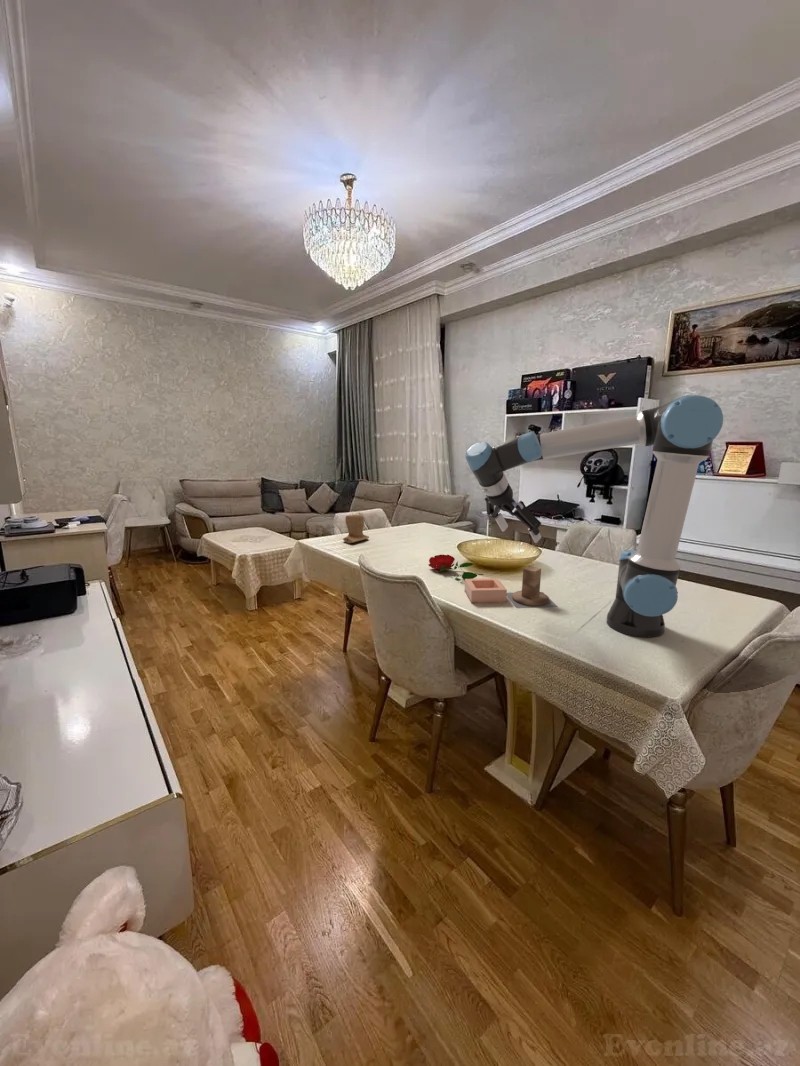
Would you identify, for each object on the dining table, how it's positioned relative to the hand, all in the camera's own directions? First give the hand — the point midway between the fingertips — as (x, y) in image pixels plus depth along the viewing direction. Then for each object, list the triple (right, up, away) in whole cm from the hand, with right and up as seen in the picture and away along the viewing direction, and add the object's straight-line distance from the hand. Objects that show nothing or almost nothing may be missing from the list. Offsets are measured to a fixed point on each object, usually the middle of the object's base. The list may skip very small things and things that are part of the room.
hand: (521, 534), depth 140 cm
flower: (-16, -18, +35) cm, 43 cm away
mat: (+6, -23, +9) cm, 25 cm away
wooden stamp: (-64, -4, +96) cm, 116 cm away
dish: (-9, -22, +12) cm, 27 cm away
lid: (+6, -23, +9) cm, 25 cm away
